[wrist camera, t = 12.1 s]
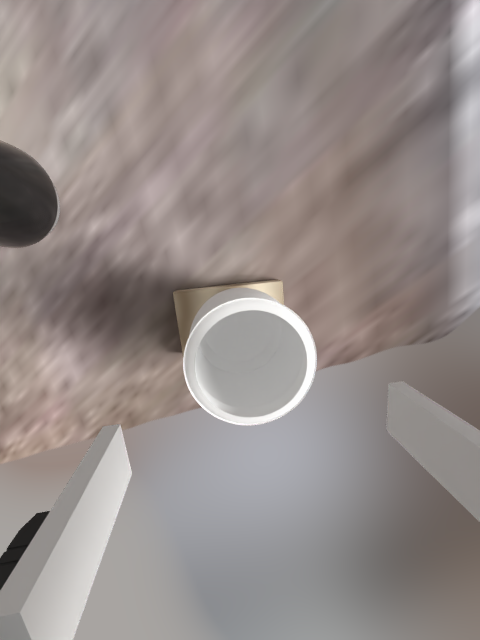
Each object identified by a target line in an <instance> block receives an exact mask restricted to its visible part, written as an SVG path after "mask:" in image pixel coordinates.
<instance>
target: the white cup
mask: <svg viewBox="0 0 480 640" xmlns="http://www.w3.org/2000/svg"><path fill="white" fill-rule="evenodd" d="M316 366H317V353H316V347H315V343H314V340H313V337H312V335H311V333H310V331H309V329H308V327H307V326H306V324H305V323H304V322H303V320H302V319H301V318H300V317H299V316H298V315H297V314H296V313H294V312H293V311H292V310H291V309H289V308H287V307H286V306H284V305H282V304H281V303H279V302H278V301H277V300H276V299H274V298H273V297H271V296H270V295H268V294H266V293H264V292H261V291H259V290H255V289H251V288H232V289H227V290H224V291H222V292H219V293H217V294H216V295H214V296H212V297H211V298H210V299H209V300H207V301H206V302H205V303H204V304H203V306H202V307H201V308H200V309H199V311H198V312H197V314H196V316H195V318H194V320H193V323H192V326H191V329H190V334H189V338H188V341H187V343H186V347H185V351H184V357H183V369H184V376H185V380H186V383H187V386H188V388H189V390H190V392H191V394H192V395H193V397H194V398H195V400H196V401H197V402H198V403H199V405H200V406H201V407H202V408H203V409H205V410H206V411H207V412H208V413H210V414H212V415H213V416H215V417H216V418H218V419H220V420H223V421H226V422H229V423H232V424H238V425H258V424H264V423H268V422H271V421H274V420H276V419H278V418H280V417H282V416H284V415H285V414H287V413H289V412H290V411H291V410H292V409H294V408H295V407H296V406H297V405H298V404H299V403H300V402H301V401H302V400H303V398H304V397H305V395H306V394H307V392H308V391H309V389H310V387H311V385H312V382H313V380H314V376H315V372H316Z"/></svg>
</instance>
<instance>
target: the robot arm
mask: <svg viewBox="0 0 480 640" xmlns="http://www.w3.org/2000/svg"><path fill="white" fill-rule="evenodd" d="M386 430H387V432H388V433H389V434H390V435H391V436H392V437H393V438H394V439H395V440H396V441H397V442H398V443H399V444H400V445H401V446H403V447H404V448H405V449H406V450H407V451H408V452H409V453H410V454H411V455H412V456H413V457H414V458H415V459H416V460H417V461H418V462H419V463H420V464H421V465H422V466H423V467H424V468H425V469H426V470H427V471H428V472H429V473H430V474H431V475H432V476H433V477H434V478H435V479H436V480H437V481H438V482H439V483H441V485H443V487H445V488H446V489H447V490H448V491H449V492H450V493H451V494H452V495H453V496H454V497H455V498H456V499H457V500H458V501H459V502H460V503H461V504H462V505H463V506H464V507H465V508H466V509H467V510H468V511H469V512H470V513H471V514H472V515H473V516H474V517H475V518H476V519H477V520H478V521H480V430H478V429H476V428H475V427H473V426H472V425H470V424H469V423H467V422H465V421H464V420H462V419H461V418H459V417H458V416H456V415H454V414H453V413H451V412H450V411H448V410H447V409H445V408H444V407H442V406H441V405H439V404H437V403H436V402H434V401H433V400H431V399H430V398H428V397H426V396H425V395H423V394H421V393H420V392H419V391H417V390H415V389H414V388H412V387H411V386H409V385H408V384H406V383H405V382H403V381H401V382H395V383H389V384H388V407H387V429H386ZM131 475H132V471H131V468H130V463H129V459H128V455H127V450H126V446H125V442H124V438H123V434H122V429H121V425H120V424H117V425H111V426H104V427H102V429H101V431H100V432H99V434H98V435H97V437H96V439H95V440H94V442H93V443H92V445H91V447H90V448H89V450H88V451H87V453H86V455H85V456H84V458H83V459H82V461H81V463H80V464H79V466H78V467H77V469H76V471H75V472H74V474H73V476H72V477H71V479H70V480H69V482H68V483H67V485H66V487H65V488H64V490H63V492H62V493H61V495H60V496H59V498H58V500H57V501H56V503H55V504H54V506H53V507H52V509H51V511H47V512H42V513H37V514H36V515H35V516H34V517H33V518H32V519H31V520H30V521H29V522H28V523H26V524H25V525H24V526H23V527H22V528H21V530H19V532H18V533H17V535H16V536H15V538H14V539H13V540H12V542H11V543H10V545H9V546H8V548H7V551H6V552H4V553H3V555H2V556H1V558H0V640H73V638H74V635H75V632H76V629H77V626H78V624H79V621H80V618H81V615H82V613H83V609H84V607H85V604H86V601H87V598H88V596H89V593H90V590H91V587H92V584H93V582H94V579H95V576H96V573H97V570H98V568H99V565H100V562H101V559H102V556H103V554H104V551H105V548H106V545H107V542H108V540H109V536H110V534H111V531H112V528H113V525H114V523H115V520H116V517H117V514H118V511H119V509H120V506H121V503H122V500H123V497H124V495H125V492H126V489H127V486H128V483H129V480H130V478H131Z"/></svg>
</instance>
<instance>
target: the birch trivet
mask: <svg viewBox="0 0 480 640" xmlns="http://www.w3.org/2000/svg"><path fill="white" fill-rule="evenodd" d="M232 288H251V289H255V290H259V291H261V292H264V293H266V294H268V295H270V296H271V297H273V298H274V299H276V300H277V301H278V302H279V303H281V304H282V305H284V300H283V283H282V281H281V280H268V281H259V282H250V283H241V284H232V285H222V286H213V287H204V288H195V289H186V290H176V291H175V292H173V297H174V303H175V310H176V316H177V322H178V329H179V335H180V341H181V347H182V354H183V357H184V351H185V347H186V343H187V341H188V338H189V334H190V329H191V326H192V323H193V320H194V318H195V316H196V314H197V312H198V311H199V309H200V308H201V307H202V306H203V304H204V303H205V302H206V301H207V300H209V299H210V298H211V297H212V296H214V295H216V294H217V293H219V292H222V291H224V290H227V289H232Z"/></svg>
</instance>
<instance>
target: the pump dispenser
mask: <svg viewBox="0 0 480 640" xmlns="http://www.w3.org/2000/svg"><path fill="white" fill-rule="evenodd" d="M59 214H60V202H59V197H58V194H57V191H56V189H55V187H54V185H53V183H52V181H51V179H50V177H49V176H48V174H47V173H46V171H45V170H44V169H43V168H42V166H41V165H40V164H39V163H38V162H37V161H36V160H35V159H33V158H32V157H31V156H30V155H28V154H27V153H25V152H24V151H22V150H20V149H18V148H16V147H14V146H12V145H10V144H8V143H6V142H3V141H1V140H0V247H7V248H20V247H26V246H30V245H33V244H35V243H37V242H39V241H40V240H42V239H43V238H44V237H45V236H47V235H48V234H49V233H50V232H51V231H52V230H53V229H54V227H55V226H56V224H57V221H58V219H59Z"/></svg>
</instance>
